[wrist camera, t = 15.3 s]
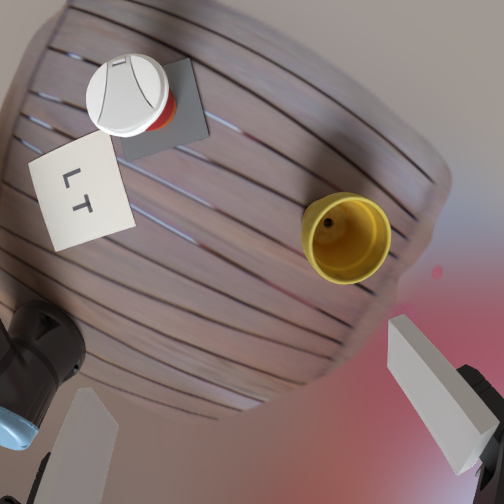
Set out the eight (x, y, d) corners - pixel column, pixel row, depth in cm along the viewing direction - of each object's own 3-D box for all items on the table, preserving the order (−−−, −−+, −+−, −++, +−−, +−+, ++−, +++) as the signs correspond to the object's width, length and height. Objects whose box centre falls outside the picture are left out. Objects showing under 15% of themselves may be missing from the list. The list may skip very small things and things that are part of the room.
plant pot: (362, 186, 41) (398, 199, 32) (353, 256, 45) (383, 284, 35) (291, 181, 40) (312, 192, 31) (285, 256, 43) (303, 286, 34)
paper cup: (122, 88, 33) (77, 65, 20) (181, 74, 33) (161, 40, 20) (130, 145, 36) (86, 147, 23) (189, 132, 36) (172, 125, 23)
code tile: (56, 251, 40) (55, 251, 40) (28, 163, 35) (28, 163, 35) (136, 225, 40) (135, 225, 40) (108, 126, 35) (107, 126, 35)
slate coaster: (128, 161, 37) (126, 162, 36) (109, 85, 33) (108, 84, 33) (209, 137, 37) (209, 137, 37) (189, 58, 33) (189, 57, 33)
